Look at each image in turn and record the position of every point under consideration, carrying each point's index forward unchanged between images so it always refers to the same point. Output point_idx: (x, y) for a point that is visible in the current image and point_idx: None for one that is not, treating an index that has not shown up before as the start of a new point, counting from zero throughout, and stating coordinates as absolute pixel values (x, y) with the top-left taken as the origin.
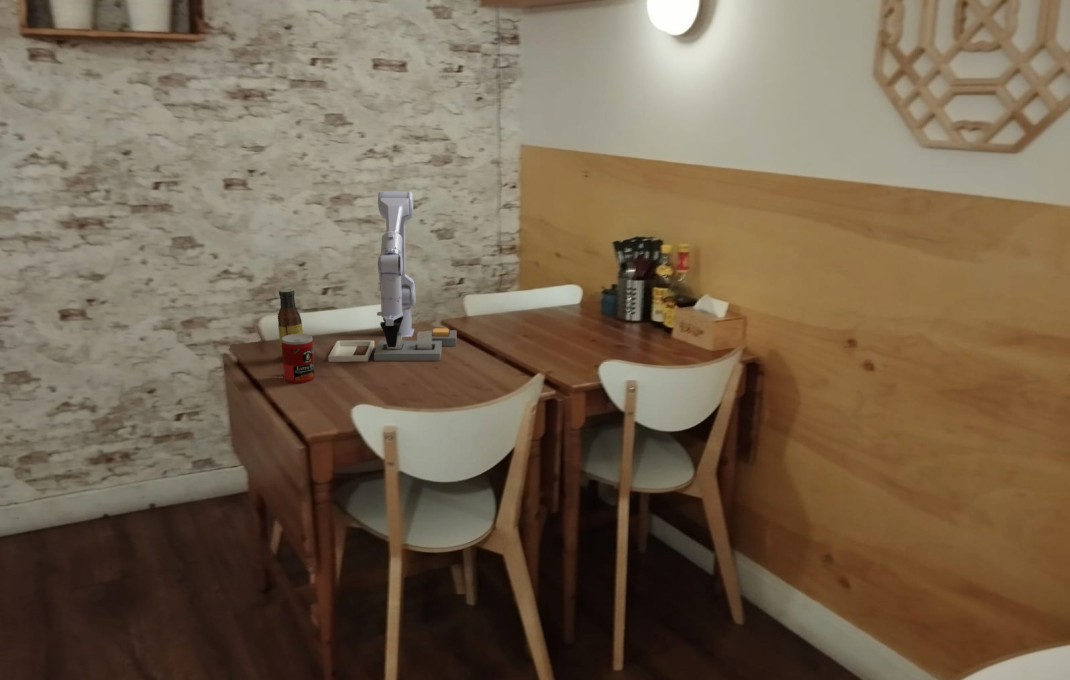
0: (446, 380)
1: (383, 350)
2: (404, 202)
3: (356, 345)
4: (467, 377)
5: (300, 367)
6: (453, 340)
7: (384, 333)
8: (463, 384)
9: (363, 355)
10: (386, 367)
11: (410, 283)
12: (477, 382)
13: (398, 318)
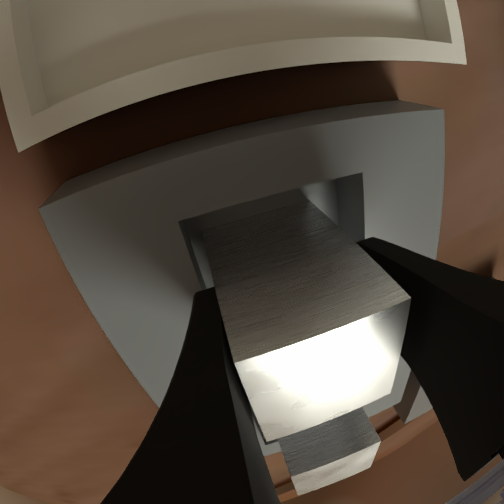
0: (55, 466)
1: (163, 245)
2: None
3: None
4: (107, 486)
5: None
6: (402, 414)
7: (158, 413)
8: (59, 483)
9: (25, 105)
10: (26, 294)
11: None
12: (89, 494)
13: (478, 462)
